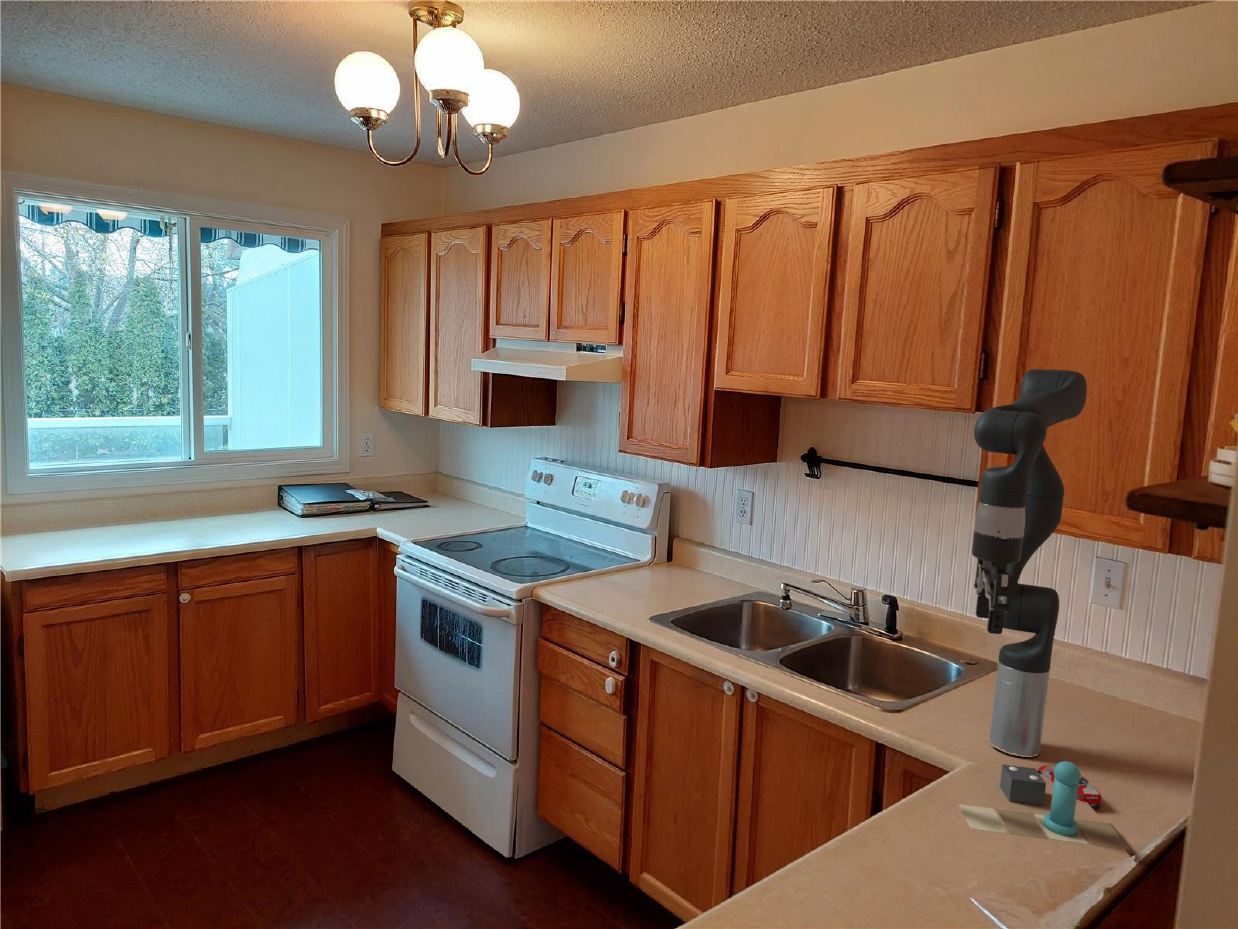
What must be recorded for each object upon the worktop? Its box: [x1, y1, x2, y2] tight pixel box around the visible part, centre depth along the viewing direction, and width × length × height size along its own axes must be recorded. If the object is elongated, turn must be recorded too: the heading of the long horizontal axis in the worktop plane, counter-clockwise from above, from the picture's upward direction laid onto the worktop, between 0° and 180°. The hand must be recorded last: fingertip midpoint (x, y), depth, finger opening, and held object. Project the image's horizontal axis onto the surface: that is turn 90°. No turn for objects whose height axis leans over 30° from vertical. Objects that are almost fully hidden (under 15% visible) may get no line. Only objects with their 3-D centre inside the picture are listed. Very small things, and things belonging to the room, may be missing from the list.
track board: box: [958, 803, 1137, 858], centre depth 137 cm, size 9×25×2 cm, turn 81°
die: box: [999, 763, 1047, 807], centre depth 146 cm, size 6×6×6 cm
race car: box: [1036, 764, 1103, 809], centre depth 152 cm, size 13×5×4 cm, turn 7°
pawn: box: [1044, 760, 1081, 836], centre depth 136 cm, size 5×5×11 cm
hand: (988, 625), depth 143 cm, fingers open, 8 cm apart
